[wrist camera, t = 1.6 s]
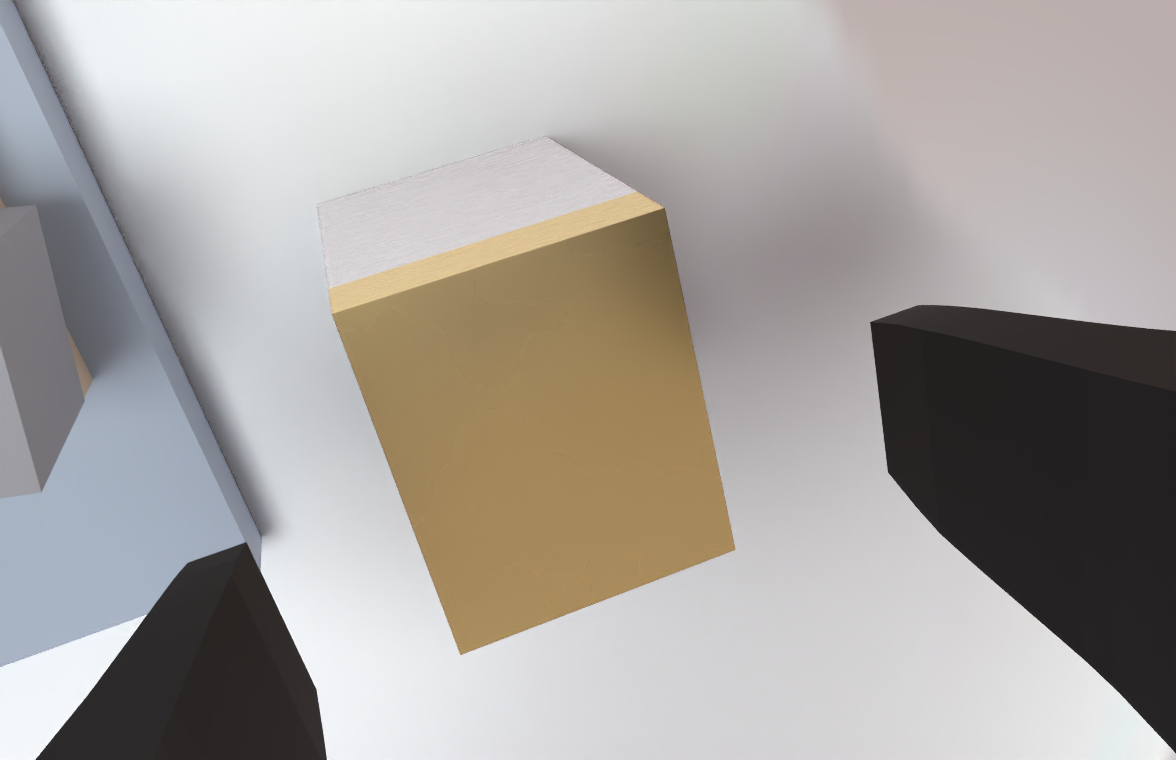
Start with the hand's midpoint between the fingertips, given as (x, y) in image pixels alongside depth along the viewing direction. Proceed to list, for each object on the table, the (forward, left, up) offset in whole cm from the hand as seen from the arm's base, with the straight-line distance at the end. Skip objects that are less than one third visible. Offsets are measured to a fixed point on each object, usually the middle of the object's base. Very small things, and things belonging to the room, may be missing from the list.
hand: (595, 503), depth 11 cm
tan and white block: (0, 0, -8) cm, 8 cm away
